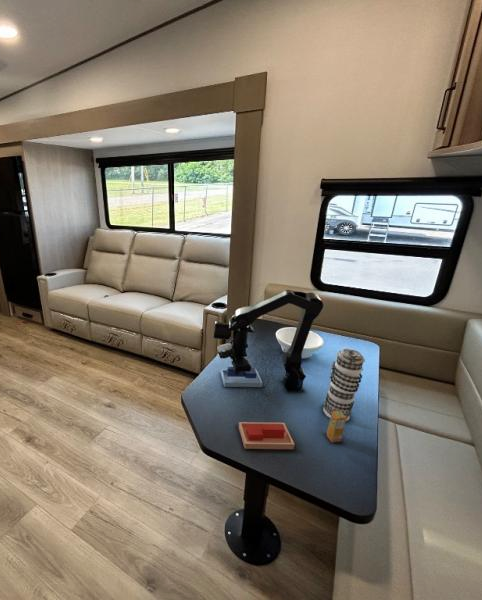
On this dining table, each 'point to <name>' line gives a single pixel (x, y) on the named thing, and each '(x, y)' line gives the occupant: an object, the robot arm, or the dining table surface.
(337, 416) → the supplement box
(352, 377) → the leaning tower model
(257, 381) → the tray blue
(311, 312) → the robot arm
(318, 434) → the dining table surface
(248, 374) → the dark blue block
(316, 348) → the bowl
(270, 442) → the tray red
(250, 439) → the red stepped block
